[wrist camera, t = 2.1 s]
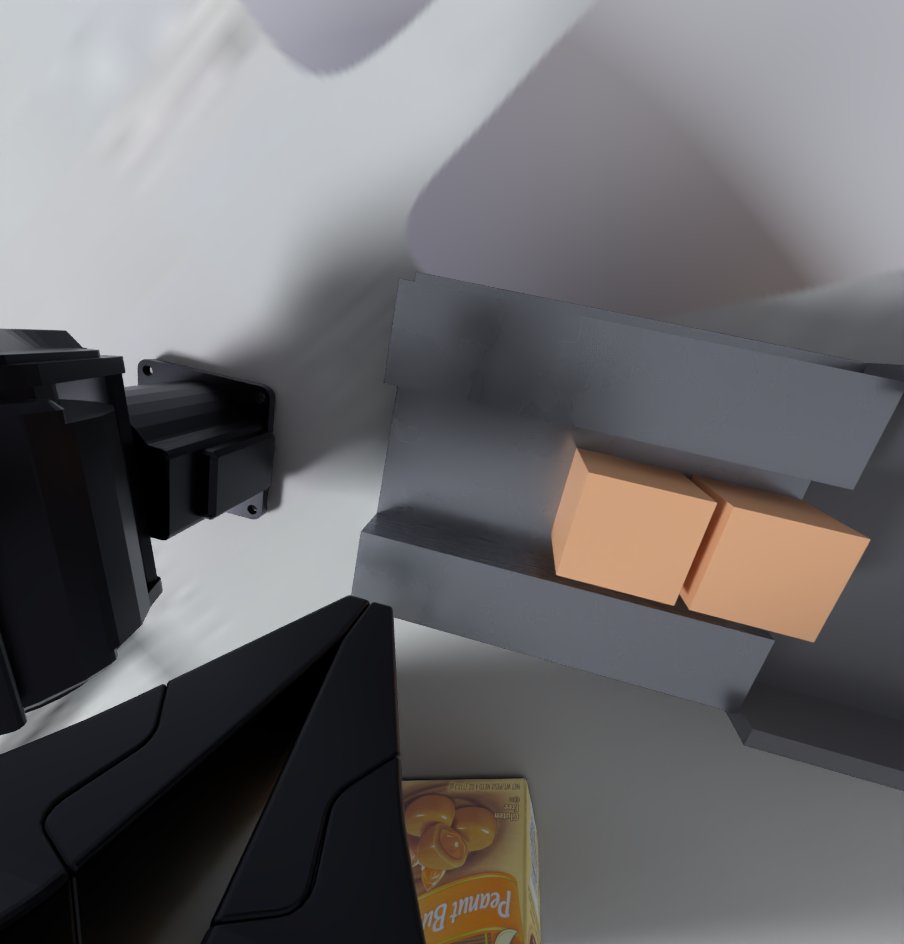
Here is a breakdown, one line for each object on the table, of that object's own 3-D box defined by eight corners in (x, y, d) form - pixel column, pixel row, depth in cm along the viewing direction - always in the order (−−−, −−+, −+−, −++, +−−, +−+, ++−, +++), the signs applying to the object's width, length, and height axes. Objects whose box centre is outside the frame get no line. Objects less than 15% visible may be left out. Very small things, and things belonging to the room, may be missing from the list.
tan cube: (659, 561, 18) (689, 609, 15) (693, 474, 17) (733, 507, 14) (760, 586, 18) (814, 642, 14) (801, 500, 17) (870, 539, 13)
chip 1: (550, 533, 18) (556, 574, 15) (576, 447, 17) (588, 472, 14) (646, 557, 18) (674, 606, 15) (680, 471, 17) (717, 503, 14)
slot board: (372, 577, 22) (348, 614, 19) (423, 276, 18) (401, 262, 15) (701, 666, 20) (732, 723, 17) (843, 361, 16) (917, 365, 13)
